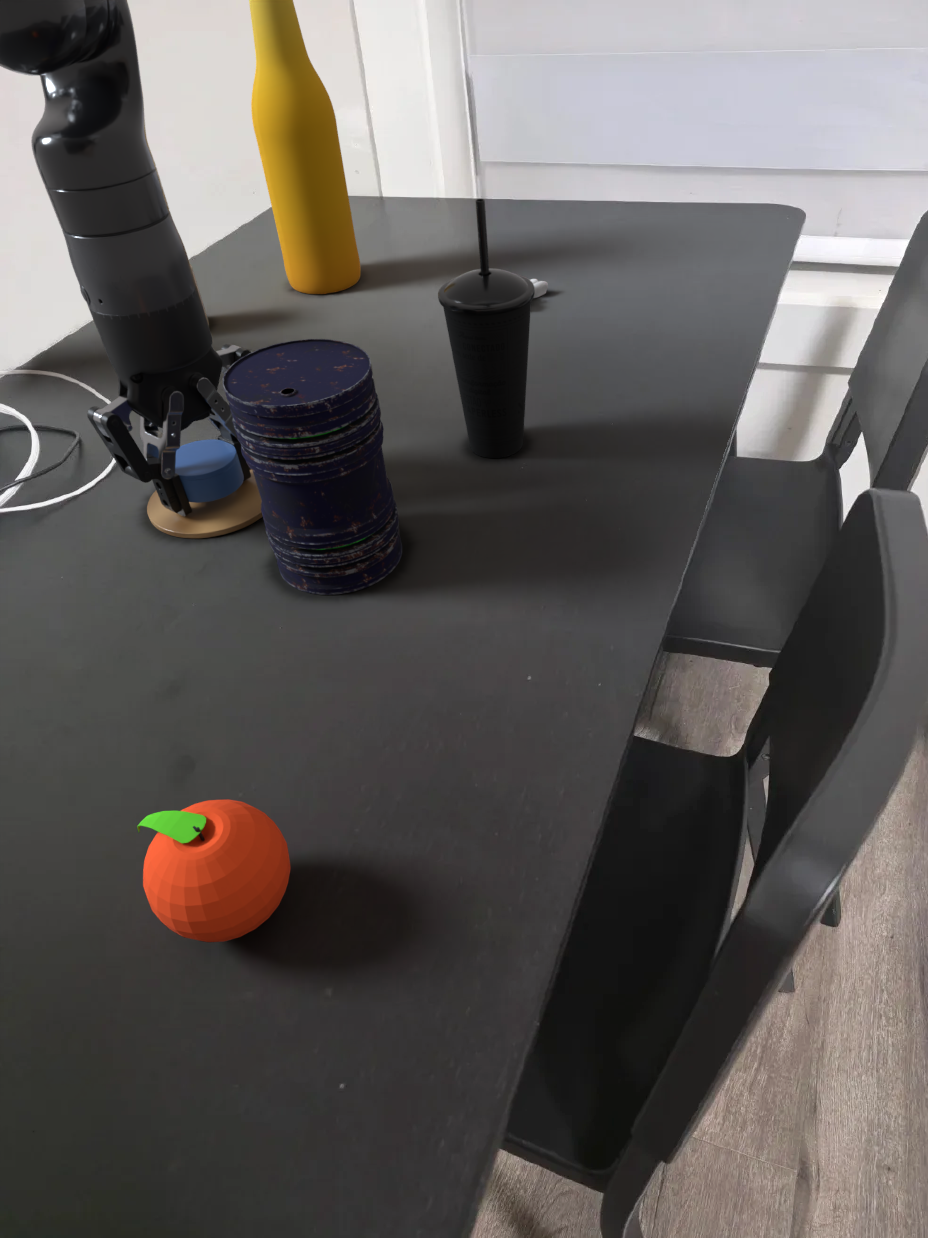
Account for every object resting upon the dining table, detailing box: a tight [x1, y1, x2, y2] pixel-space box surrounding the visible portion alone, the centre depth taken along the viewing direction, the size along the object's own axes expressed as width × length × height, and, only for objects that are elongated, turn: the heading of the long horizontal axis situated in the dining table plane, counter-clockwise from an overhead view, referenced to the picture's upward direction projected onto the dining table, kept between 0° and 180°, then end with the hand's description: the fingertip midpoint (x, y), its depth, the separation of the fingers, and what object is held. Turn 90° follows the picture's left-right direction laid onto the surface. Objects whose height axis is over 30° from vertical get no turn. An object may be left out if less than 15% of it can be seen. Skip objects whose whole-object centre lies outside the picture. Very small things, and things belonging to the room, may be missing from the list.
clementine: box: [136, 798, 291, 943], centre depth 42 cm, size 8×7×7 cm
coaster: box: [146, 469, 263, 539], centre depth 72 cm, size 11×11×1 cm
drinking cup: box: [437, 198, 535, 459], centre depth 69 cm, size 8×8×20 cm
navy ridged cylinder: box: [222, 338, 403, 596], centre depth 60 cm, size 10×10×15 cm
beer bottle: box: [248, 0, 362, 295], centre depth 96 cm, size 9×9×29 cm
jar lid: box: [175, 438, 244, 503], centre depth 70 cm, size 6×6×2 cm
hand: (212, 493), depth 71 cm, fingers closed on jar lid, 5 cm apart
